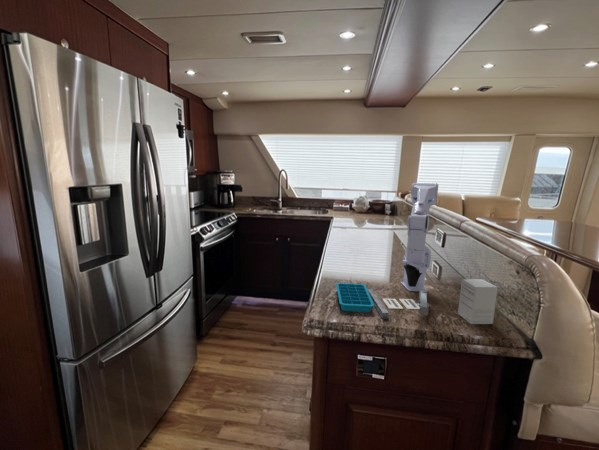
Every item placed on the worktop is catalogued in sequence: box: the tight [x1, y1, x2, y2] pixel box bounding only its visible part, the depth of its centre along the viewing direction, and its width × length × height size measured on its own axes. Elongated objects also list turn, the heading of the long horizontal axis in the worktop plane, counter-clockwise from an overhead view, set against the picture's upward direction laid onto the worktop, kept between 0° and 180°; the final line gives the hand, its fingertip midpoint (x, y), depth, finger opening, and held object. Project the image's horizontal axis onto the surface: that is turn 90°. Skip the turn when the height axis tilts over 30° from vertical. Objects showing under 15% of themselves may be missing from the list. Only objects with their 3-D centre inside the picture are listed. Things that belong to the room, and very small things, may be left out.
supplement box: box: [457, 278, 499, 325], centre depth 91 cm, size 7×7×13 cm
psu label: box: [381, 298, 404, 310], centre depth 102 cm, size 8×5×1 cm, turn 1°
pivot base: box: [415, 300, 430, 308], centre depth 102 cm, size 5×5×1 cm
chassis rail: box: [367, 288, 390, 319], centre depth 101 cm, size 20×2×2 cm, turn 1°
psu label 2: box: [398, 298, 420, 311], centre depth 102 cm, size 8×5×1 cm, turn 1°
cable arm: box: [417, 290, 429, 316], centre depth 95 cm, size 16×3×5 cm, turn 157°
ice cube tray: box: [335, 282, 375, 313], centre depth 104 cm, size 12×20×3 cm, turn 176°
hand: (412, 285), depth 99 cm, fingers closed
